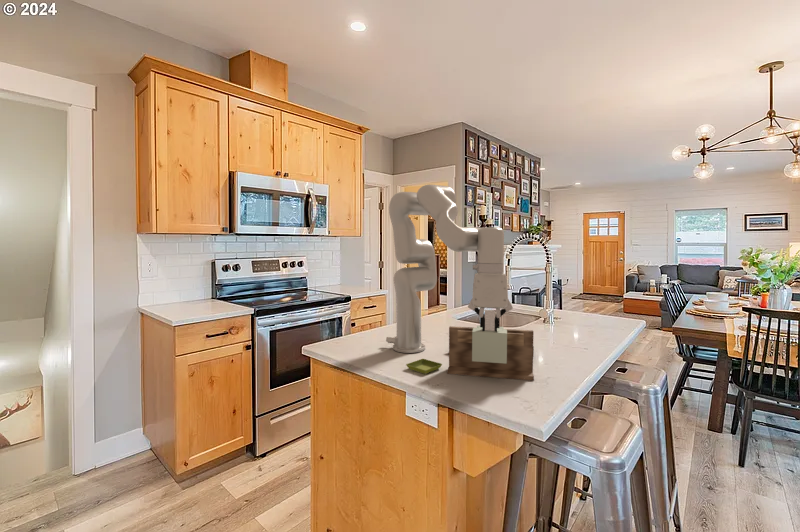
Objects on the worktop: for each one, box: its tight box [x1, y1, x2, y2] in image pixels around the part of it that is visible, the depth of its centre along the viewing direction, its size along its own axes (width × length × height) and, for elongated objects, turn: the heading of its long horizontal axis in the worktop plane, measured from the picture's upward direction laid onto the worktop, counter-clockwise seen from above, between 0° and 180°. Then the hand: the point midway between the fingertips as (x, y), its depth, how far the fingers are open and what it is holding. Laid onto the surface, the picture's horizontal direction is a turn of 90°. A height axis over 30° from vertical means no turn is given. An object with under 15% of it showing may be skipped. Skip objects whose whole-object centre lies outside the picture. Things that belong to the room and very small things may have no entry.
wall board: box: [446, 325, 535, 381], centre depth 125 cm, size 26×6×14 cm, turn 76°
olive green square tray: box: [405, 358, 443, 375], centre depth 130 cm, size 9×9×2 cm
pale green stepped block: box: [472, 309, 508, 364], centre depth 121 cm, size 10×9×15 cm
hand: (489, 329), depth 119 cm, fingers closed on pale green stepped block, 3 cm apart
